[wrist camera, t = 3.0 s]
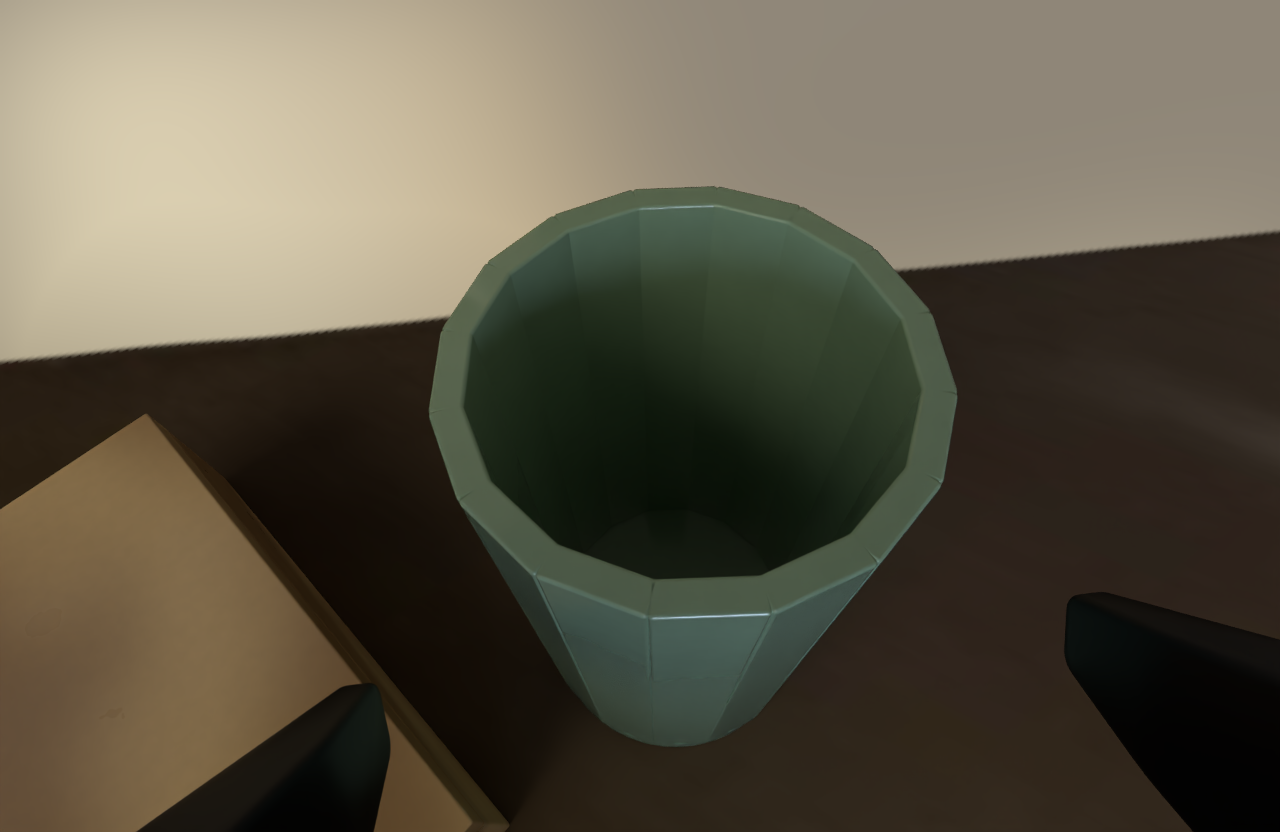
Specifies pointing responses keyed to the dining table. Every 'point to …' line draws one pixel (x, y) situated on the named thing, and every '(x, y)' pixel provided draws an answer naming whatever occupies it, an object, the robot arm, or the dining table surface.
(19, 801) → the shelf
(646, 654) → the cup
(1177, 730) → the robot arm
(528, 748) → the dining table surface
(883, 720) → the dining table surface
